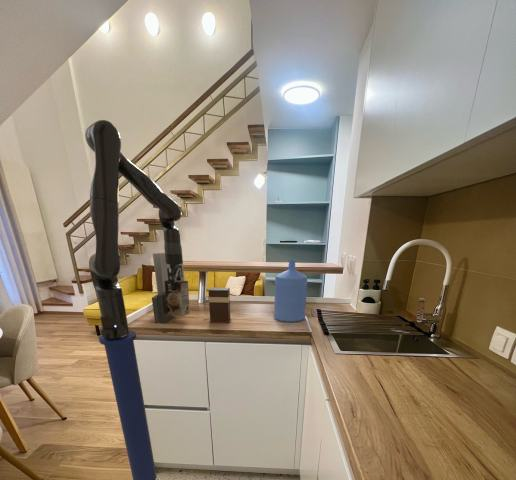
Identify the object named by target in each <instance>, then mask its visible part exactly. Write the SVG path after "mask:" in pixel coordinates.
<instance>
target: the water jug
mask: <svg viewBox="0 0 516 480" xmlns="http://www.w3.org/2000/svg"><path fill="white" fill-rule="evenodd" d="M274 277H275V279H274V309H273V317H274V319H275V320H277V321H279V322H284V323H285V322H287V323H297V322H301V321H303V320H304V319H305V318H306V303H307V287H308V276H307V275H306V274H303V273H302V272H300V271H299V270H296V260H288V268H287V270H284V271H283V272H280V273H278V274H276V275H275V276H274Z"/></svg>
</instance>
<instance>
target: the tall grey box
mask: <svg viewBox="0 0 516 480" xmlns="http://www.w3.org/2000/svg"><path fill="white" fill-rule="evenodd" d="M152 259H153V268H154V276H155V282H156V283H155V284H156V291H157V295H158V294H159V293H163V292H164V291H165V283H164V281H166V280H168V273H167V268H170V264H166V260H165V252H158V253H157V252H156V253H155V252H154V253H152ZM179 265H182V275H183V278H182V280H183V281H185V272H184V271H185V270H184V262H183V263H182V264H179Z"/></svg>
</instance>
